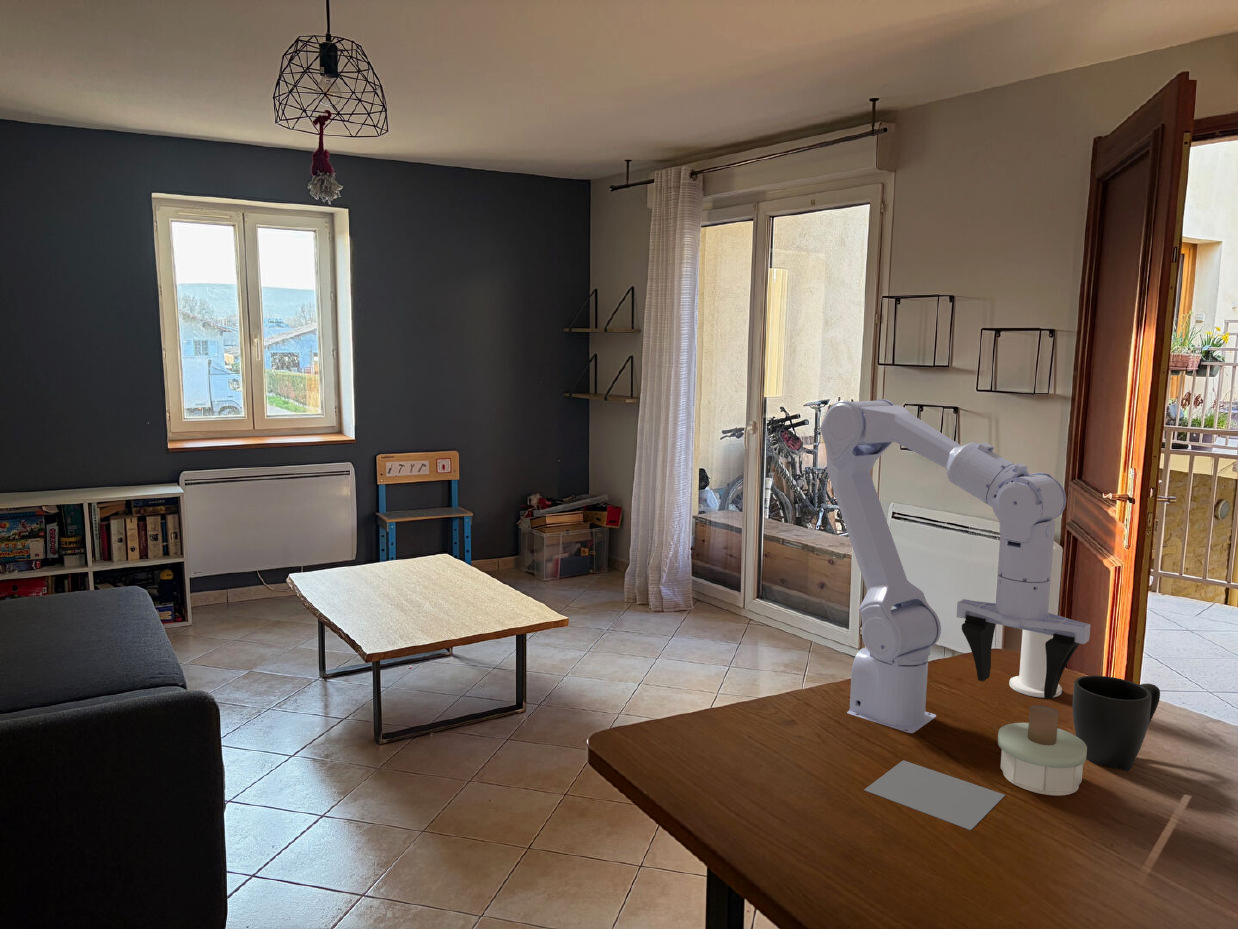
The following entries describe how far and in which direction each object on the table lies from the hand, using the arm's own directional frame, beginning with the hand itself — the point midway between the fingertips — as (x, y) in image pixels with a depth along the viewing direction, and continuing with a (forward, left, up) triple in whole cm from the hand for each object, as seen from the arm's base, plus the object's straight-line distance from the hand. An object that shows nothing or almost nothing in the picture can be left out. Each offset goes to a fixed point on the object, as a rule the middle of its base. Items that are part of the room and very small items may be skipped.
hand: (1015, 687), depth 105 cm
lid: (+4, -2, -6) cm, 7 cm away
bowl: (+4, -2, -10) cm, 11 cm away
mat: (-3, -14, -10) cm, 18 cm away
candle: (-6, +28, -10) cm, 30 cm away
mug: (+9, +11, -10) cm, 17 cm away
